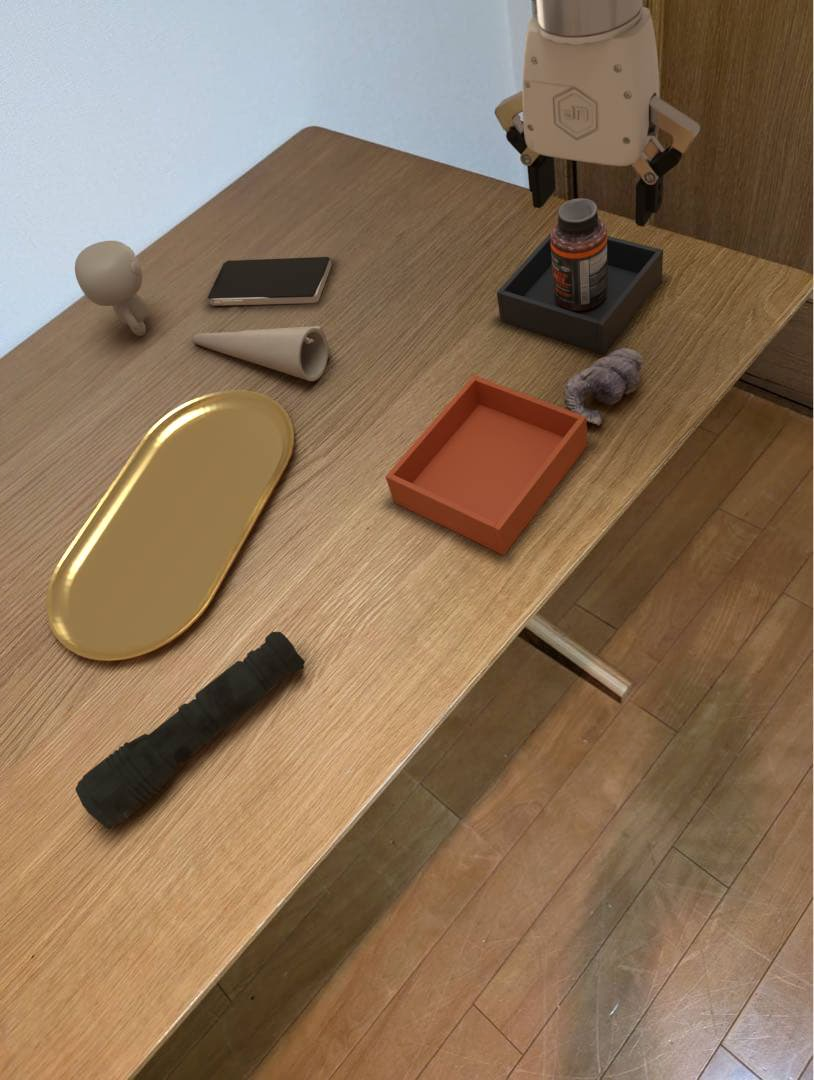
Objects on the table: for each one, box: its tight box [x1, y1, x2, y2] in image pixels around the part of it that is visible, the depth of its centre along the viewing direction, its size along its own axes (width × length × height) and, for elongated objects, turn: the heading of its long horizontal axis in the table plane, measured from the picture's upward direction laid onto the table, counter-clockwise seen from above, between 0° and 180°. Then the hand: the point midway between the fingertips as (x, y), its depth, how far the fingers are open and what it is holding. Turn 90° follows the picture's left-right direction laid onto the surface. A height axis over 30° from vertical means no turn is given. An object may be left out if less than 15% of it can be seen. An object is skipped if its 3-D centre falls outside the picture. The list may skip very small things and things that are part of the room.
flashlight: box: [74, 631, 306, 830], centre depth 72 cm, size 5×21×5 cm, turn 130°
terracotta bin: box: [385, 374, 589, 556], centre depth 83 cm, size 13×15×4 cm
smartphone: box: [207, 256, 332, 307], centre depth 110 cm, size 8×1×15 cm
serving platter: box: [45, 389, 295, 662], centre depth 89 cm, size 19×35×2 cm, turn 159°
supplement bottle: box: [550, 197, 608, 311], centre depth 92 cm, size 6×6×11 cm
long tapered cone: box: [191, 325, 331, 382], centre depth 100 cm, size 6×6×19 cm
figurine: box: [74, 240, 148, 337], centre depth 106 cm, size 8×8×12 cm
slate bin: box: [496, 232, 664, 355], centre depth 95 cm, size 13×13×4 cm
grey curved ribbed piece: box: [562, 346, 645, 427], centre depth 86 cm, size 5×5×10 cm
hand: (594, 207), depth 75 cm, fingers open, 9 cm apart
